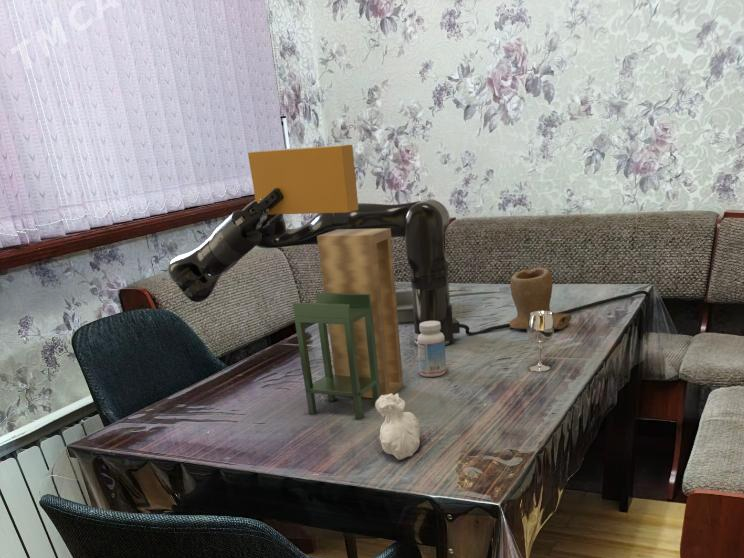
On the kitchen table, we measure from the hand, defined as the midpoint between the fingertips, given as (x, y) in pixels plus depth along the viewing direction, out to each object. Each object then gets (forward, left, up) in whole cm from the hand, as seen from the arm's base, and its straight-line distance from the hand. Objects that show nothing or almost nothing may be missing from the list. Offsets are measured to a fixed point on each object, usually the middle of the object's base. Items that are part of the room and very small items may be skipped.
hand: (286, 191), depth 139 cm
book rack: (-5, +17, -40) cm, 44 cm away
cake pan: (-31, -56, -40) cm, 76 cm away
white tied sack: (-13, +42, -40) cm, 59 cm away
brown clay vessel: (-60, -23, -40) cm, 75 cm away
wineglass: (-50, +8, -40) cm, 64 cm away
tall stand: (-12, +8, -40) cm, 42 cm away
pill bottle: (-27, +2, -40) cm, 48 cm away
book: (-3, +2, -4) cm, 6 cm away
